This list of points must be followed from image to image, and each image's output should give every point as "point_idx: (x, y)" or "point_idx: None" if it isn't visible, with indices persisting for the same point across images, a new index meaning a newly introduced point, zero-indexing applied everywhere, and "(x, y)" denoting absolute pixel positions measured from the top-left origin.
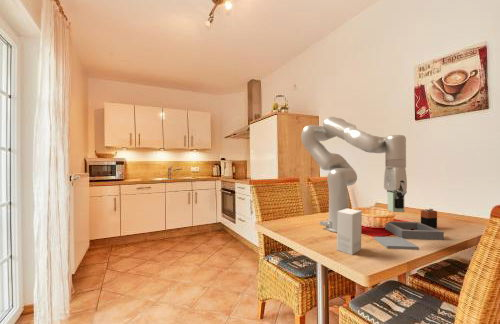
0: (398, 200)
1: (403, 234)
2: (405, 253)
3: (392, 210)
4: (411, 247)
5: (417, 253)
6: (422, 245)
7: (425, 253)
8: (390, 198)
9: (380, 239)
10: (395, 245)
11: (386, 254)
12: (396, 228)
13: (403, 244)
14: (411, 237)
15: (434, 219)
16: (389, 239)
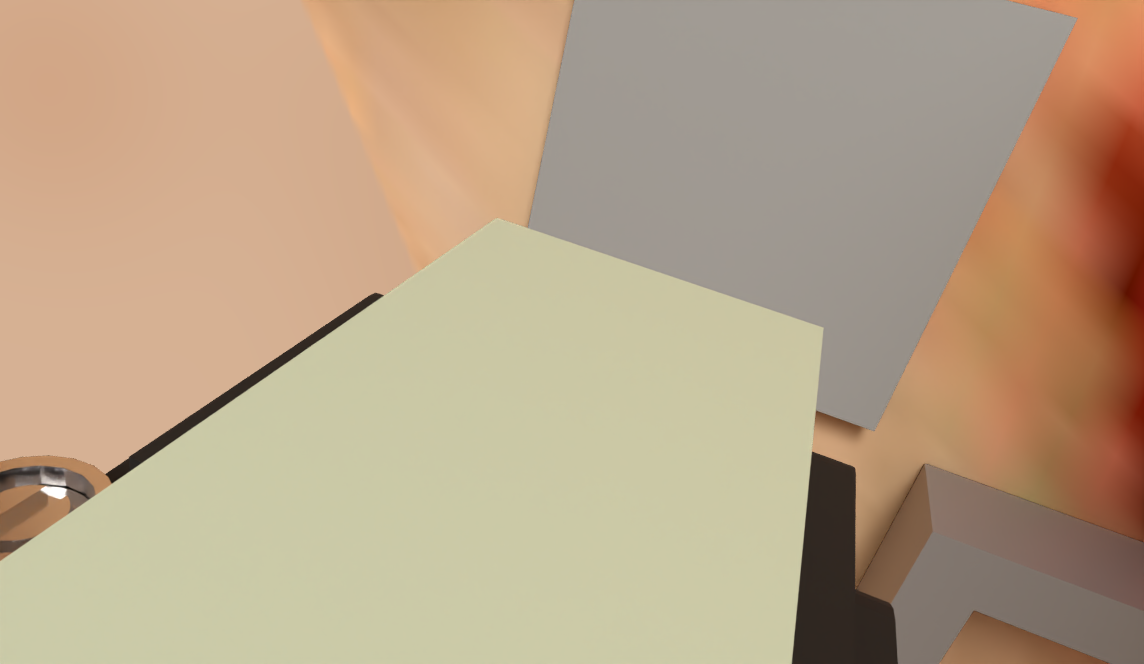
0: (122, 469)
1: (918, 516)
2: (425, 19)
3: (513, 242)
4: (531, 223)
5: (421, 167)
6: None
7: (419, 254)
8: (462, 502)
9: (884, 15)
10: (589, 44)
11: None
12: (1100, 589)
13: (611, 195)
14: (873, 571)
15: None
16: (842, 173)
